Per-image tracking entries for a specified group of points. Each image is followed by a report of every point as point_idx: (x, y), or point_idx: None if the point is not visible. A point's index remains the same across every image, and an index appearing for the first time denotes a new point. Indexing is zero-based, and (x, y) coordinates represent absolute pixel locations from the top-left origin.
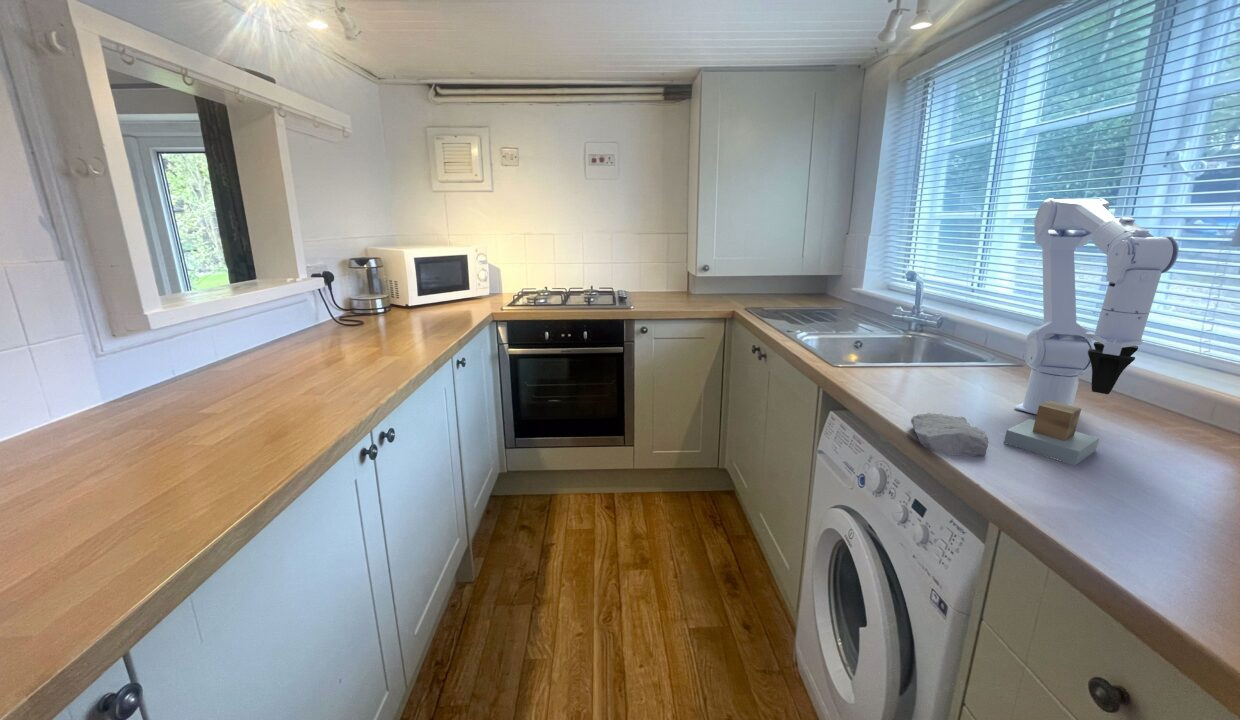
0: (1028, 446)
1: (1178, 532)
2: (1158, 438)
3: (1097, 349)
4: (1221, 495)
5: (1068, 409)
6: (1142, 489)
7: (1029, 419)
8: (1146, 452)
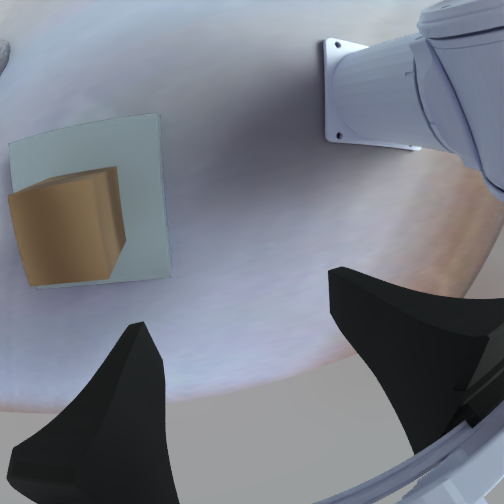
0: None
1: (10, 389)
2: None
3: (443, 341)
4: None
5: (55, 263)
6: (68, 355)
7: (149, 116)
8: (265, 308)
